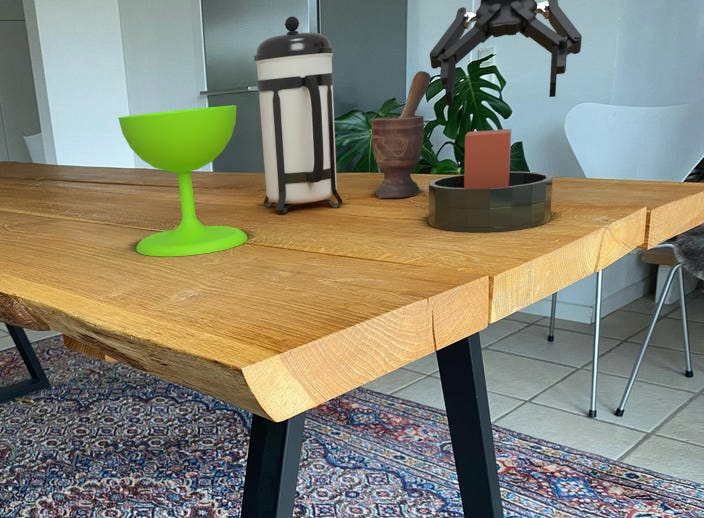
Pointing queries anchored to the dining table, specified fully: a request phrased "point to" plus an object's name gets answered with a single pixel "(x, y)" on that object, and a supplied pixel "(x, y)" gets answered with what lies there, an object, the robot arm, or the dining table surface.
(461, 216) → the bowl
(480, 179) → the block
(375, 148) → the mortar and pestle
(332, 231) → the dining table surface
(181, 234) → the wineglass
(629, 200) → the dining table surface
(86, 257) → the dining table surface
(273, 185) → the coffee press
